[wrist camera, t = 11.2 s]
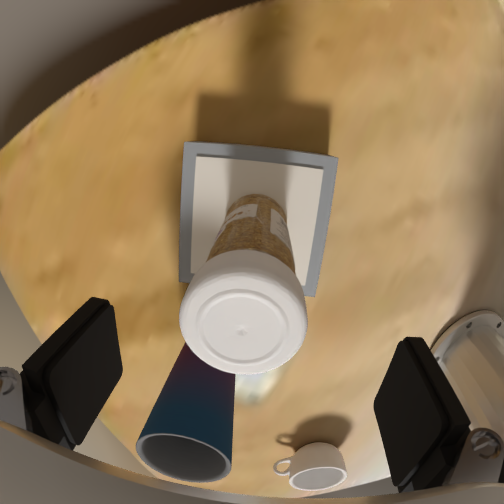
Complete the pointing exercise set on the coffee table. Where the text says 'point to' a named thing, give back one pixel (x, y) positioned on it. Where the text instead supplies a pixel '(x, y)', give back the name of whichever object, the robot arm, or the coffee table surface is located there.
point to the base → (255, 182)
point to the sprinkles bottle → (246, 293)
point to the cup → (191, 422)
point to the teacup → (314, 467)
